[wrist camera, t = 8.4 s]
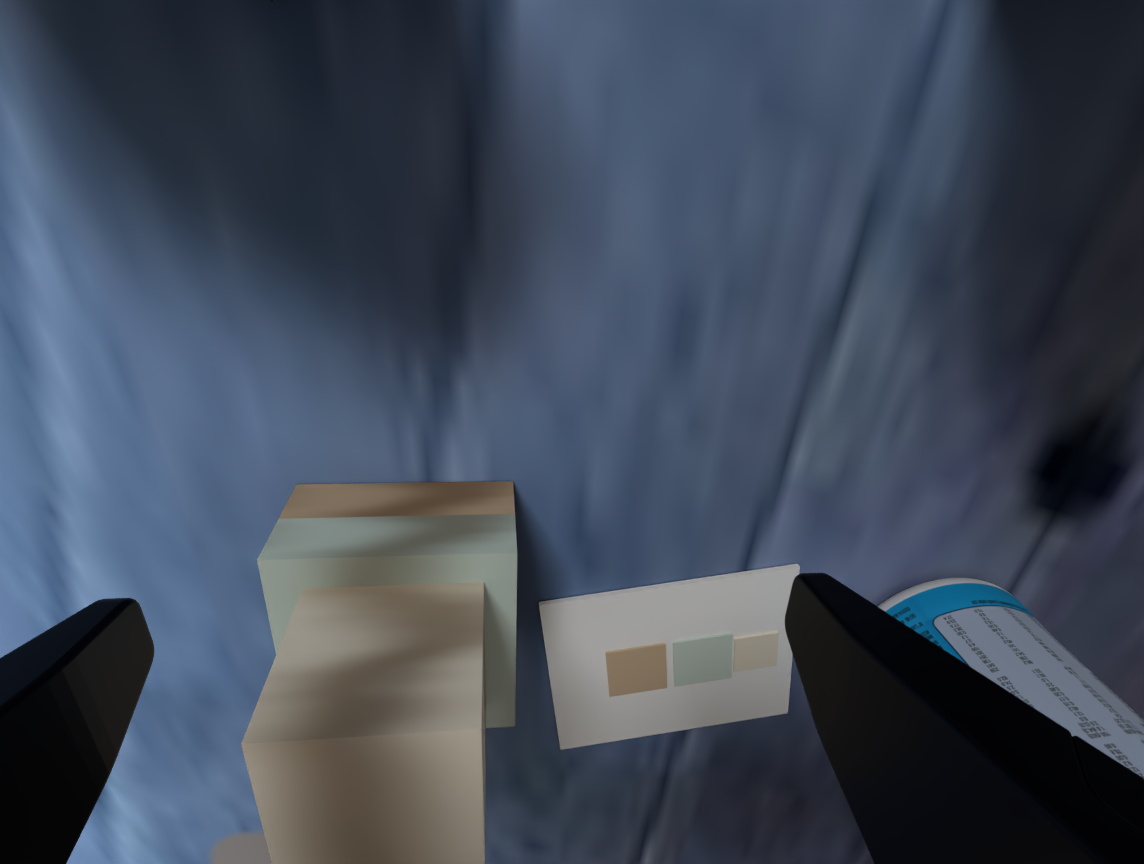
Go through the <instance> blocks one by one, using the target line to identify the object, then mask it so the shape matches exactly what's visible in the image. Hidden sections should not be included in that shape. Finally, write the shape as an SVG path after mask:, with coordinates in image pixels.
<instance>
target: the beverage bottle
mask: <svg viewBox="0 0 1144 864" xmlns="http://www.w3.org/2000/svg"><path fill="white" fill-rule="evenodd" d="M877 607H879V608H880V609H882V610H883V611H885V612H887V613H888V614H890V615H891V616H893V617H894V618H896V619H897V620H899V621H900V622H902V623H904V624H905V625H907V626H908V627H910V628H911V629H913V630H914V631H916V632H917V633H919V634H921V635H922V636H924V637H925V638H927V639H928V640H930V641H931V642H933V643H934V644H936V645H938V646H939V647H941V648H942V649H944V650H945V651H947V652H948V653H950V654H951V655H953V656H955V657H956V658H958V659H959V660H961V661H962V662H964V663H965V664H967V665H968V666H970V667H971V668H973V669H975V670H976V671H978V672H979V673H981V674H982V675H984V676H985V677H987V678H988V679H990V680H992V681H993V682H995V683H996V684H998V685H999V686H1001V687H1002V688H1004V689H1005V690H1007V691H1009V692H1010V693H1012V694H1013V695H1015V696H1016V697H1018V698H1019V699H1021V700H1022V701H1024V702H1026V703H1027V704H1029V705H1030V706H1032V707H1033V708H1035V709H1036V710H1038V711H1039V712H1041V713H1043V714H1044V715H1046V716H1047V717H1049V718H1050V719H1052V720H1053V721H1055V722H1056V723H1058V724H1060V725H1061V726H1063V727H1064V728H1066V729H1067V730H1069V731H1070V733H1071V735H1072V736H1078V737H1080V738H1081V739H1083V740H1085V741H1086V742H1088V743H1089V744H1091V745H1092V746H1094V747H1095V748H1097V749H1098V750H1100V751H1101V752H1103V753H1105V754H1106V755H1108V756H1109V757H1111V758H1112V759H1114V760H1116V761H1117V762H1119V763H1120V764H1122V765H1124V766H1125V767H1127V768H1128V769H1130V770H1131V771H1133V772H1135V773H1136V774H1138V775H1139V776H1141V777H1143V778H1144V720H1143V719H1142V718H1141V717H1140V716H1139V715H1138V714H1136V713H1135V712H1134V711H1133V710H1132V709H1131V708H1130V707H1129V706H1128V705H1127V704H1126V703H1125V702H1123V701H1122V700H1121V699H1120V698H1119V697H1118V696H1117V695H1116V694H1115V693H1114V692H1113V691H1111V690H1110V689H1109V688H1108V687H1107V686H1106V685H1105V684H1104V683H1103V682H1102V681H1101V680H1100V679H1098V678H1097V677H1096V676H1095V675H1094V674H1093V673H1092V672H1091V671H1090V670H1089V669H1088V668H1087V667H1085V666H1084V665H1083V664H1082V663H1081V662H1080V661H1079V660H1078V659H1077V658H1076V657H1075V656H1074V655H1072V654H1071V653H1070V652H1069V651H1068V650H1067V649H1066V648H1065V647H1064V646H1063V645H1062V644H1061V643H1060V642H1059V641H1057V640H1056V639H1055V638H1054V637H1053V636H1052V635H1051V634H1050V633H1049V632H1048V631H1047V630H1046V629H1045V628H1044V627H1043V626H1042V625H1041V624H1040V623H1039V622H1038V620H1037V619H1036V618H1035V617H1034V616H1033V614H1032V613H1031V612H1030V611H1029V610H1028V609H1027V608H1026V607H1025V606H1024V605H1022V604H1021V603H1020V602H1019V601H1018V600H1017V599H1016V598H1015V597H1014V596H1013V595H1011V594H1010V593H1009V592H1007V591H1006V590H1004V589H1002V588H1001V587H999V586H997V585H994V584H992V583H989V582H986V581H982V580H978V579H971V578H945V579H938V580H933V581H929V582H925V583H922V584H919V585H916V586H913V587H910V588H908V589H906V590H903V591H901V592H899V593H897V594H896V595H894V596H892V597H890V598H889V599H887V600H885V601H884V602H882V603H881V604H880V605H878V606H877Z"/></svg>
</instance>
